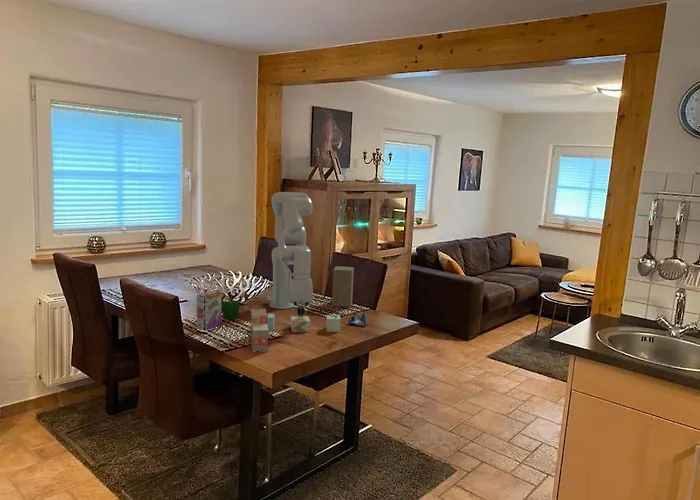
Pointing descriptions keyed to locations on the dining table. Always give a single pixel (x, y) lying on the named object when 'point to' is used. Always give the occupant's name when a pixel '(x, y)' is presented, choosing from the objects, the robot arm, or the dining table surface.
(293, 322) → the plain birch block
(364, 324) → the snack package
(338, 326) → the sage numbered cube
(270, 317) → the grey-blue numbered cube
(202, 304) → the candy bar box
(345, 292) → the wooden block
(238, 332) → the dining table surface
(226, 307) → the bell pepper
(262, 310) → the stack of blocks
